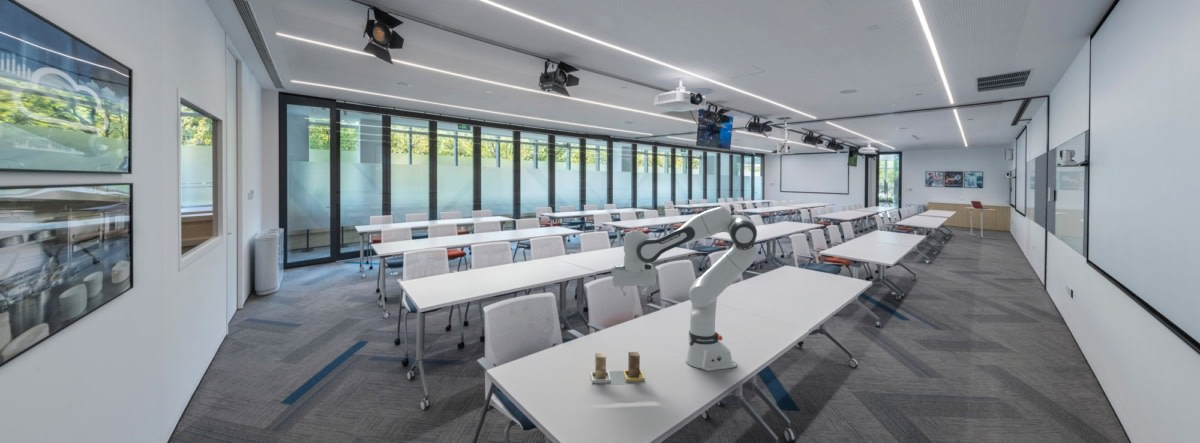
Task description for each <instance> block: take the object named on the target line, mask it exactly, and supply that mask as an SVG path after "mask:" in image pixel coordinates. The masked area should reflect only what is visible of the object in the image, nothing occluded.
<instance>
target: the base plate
mask: <svg viewBox="0 0 1200 443" xmlns="http://www.w3.org/2000/svg"><path fill="white" fill-rule="evenodd" d="M589 375H590V376H589V377H590V382H591V386H592V387H593V386H594V387H596V386H619V385H638V384H646V383H647V382H646V379H645V375H644V373H643V371H642V369H640V372H639V378H629V375H628V369H627V370H626V369H624V370H613V371H609V370H606V379H596V377H595V371H590V372H589Z"/></svg>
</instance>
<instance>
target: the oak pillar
mask: <svg viewBox="0 0 1200 443" xmlns="http://www.w3.org/2000/svg"><path fill="white" fill-rule="evenodd" d="M594 354H595V355H594V356H595V357H594V358H595V359H594V360H595V361H594V363H595V364H594V366H595V367H594V372H595V377H596V379H606V371H607V356H606V353H605V352H600V353H599V352H597V353H596V352H595V353H594Z"/></svg>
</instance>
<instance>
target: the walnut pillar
mask: <svg viewBox="0 0 1200 443" xmlns="http://www.w3.org/2000/svg"><path fill="white" fill-rule="evenodd" d="M640 357H641V356H640V353H639V351H628V365H627V366H628V367H627V370H628V375H629V378H639V372H640V370H641V369H640V368H641V367H640V364H641V363H640V361H641V360H640Z"/></svg>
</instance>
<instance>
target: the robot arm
mask: <svg viewBox="0 0 1200 443" xmlns="http://www.w3.org/2000/svg"><path fill="white" fill-rule="evenodd" d="M720 233H726V234H727V233H728V235H729V236H730V238H731V242H733V244H732V245H731V247H730V248H729V249H728V250H727V251H726V252H724V253H723V254H722V255H721V256H720V257H719V258H718V259H717V260H716V261H715V262H714V263H713V264H712V265H710V267H709V268H708V269H707V270H706V271H705V272H704V273H703V274H702V275H700V276H699V277H697V278H696V279H695V280H694V282H693V283H692V285H691V286H690V287H689V290H688V298H689V300H690V303H691V309H690V313H689V314H690V317H689V318H690V319H689V321H690V322H689V331H688V349H687V350H688V351H687V354H686V357H685V363H686V364H687V365H690V366H691V367H694V368H697V369H702V370H704V371H707V372H711V371H718V370H724V369H730V368H731V369H732V368H736V367H737V361H736V359H735V358H734V357H733V356H732V354H731V351H730V348H728V346H726V345H725V344H724V343H722V342H721V341H722V340H723V336H722V335H721V334H719V333H718V332H717V331H716V315H717V313H716V312H717V301H718V298H719V296H720V295H721V294H722V293H723V292H724V291H725V290H726V289H727V288H728V287H729V286H730V285H731V284H732V283H733V282H734V281H736V279H737V278H739V276H741V274H743V273H745V271H746V270H747V269H748V268H749V267H750V266H751V265H752V264H753V263H754V261H755V260H756V259H757V257H758V255H759V249H758V247H757V246H756V245H755V242H756V239H757V236H758V231H757V228H756V224H755V222H754V221H753V220H752V219H751V218H750V217H749V216H748V215H746V214H745V213H744V214H743V213H733V212H730V210H728V208H726V207H724V206H717V207H713V208H710V209H707V210H704V211H702V212H699V213H698V214H695V215H694V216H692V217H691V218H689V219H688V220H687V221H685V222H684V223H683V224H682V225H681V226H680V227H678V228H677V229H676V230H674V231H672V232H669V233H668V234H666V235H664V236H660V237H659V238H658V237H655V236H652V235H648V234H647V233H645V232H643V231H642V230H640V229H635V230H631V231H627V232H626V233H625V235H624V238H623V252H624V256H623V265H620V266H619V265H615V266H613V267H612V268H611V270H610V271H611V272H610V273H611V274H610V275H611V276H612V277H611V278H612V279H611V284H612V286H613V287H617V288H618V287H619V289H620V290H621V296H623V297H625V296H627V291H625V290H624V287H637V286H641V287H642V286H644V289H643V290H641V291H642V293H641V294H642V295H643V296H644V295H645V296H646V295H647V291H648V290H649V286H654V285H656V284H657V277H656V272H655V270H654V265H653V264H652V263H655V261H656V260H658V258H659V257H660V256H662V254H664V253H666V252H668V251H670V250H673V249H675V248H677V247H679V246H681V245H684V244H689V243H692V242H693V243H694V242H698V241H701V240H705V239H708V238H710V237H712V236H716V234H720Z"/></svg>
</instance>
